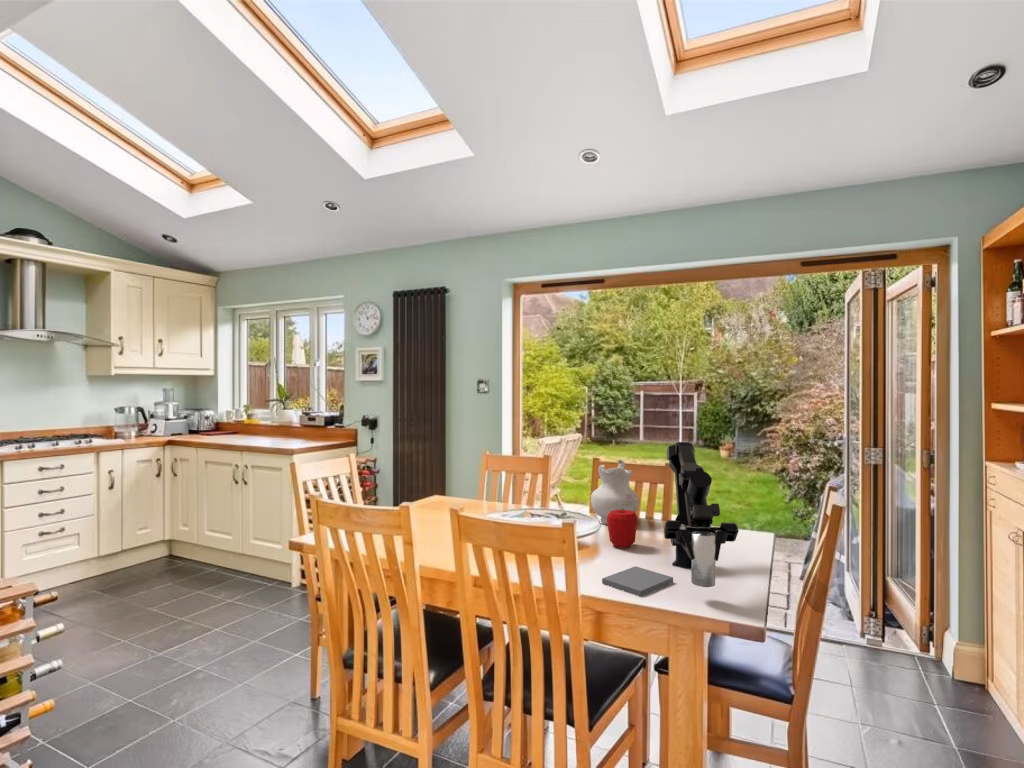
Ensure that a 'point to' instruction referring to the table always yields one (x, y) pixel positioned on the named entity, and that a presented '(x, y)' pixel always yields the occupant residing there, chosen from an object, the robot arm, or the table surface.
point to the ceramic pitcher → (614, 492)
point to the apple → (622, 527)
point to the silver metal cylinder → (703, 558)
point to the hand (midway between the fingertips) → (704, 559)
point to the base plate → (637, 580)
